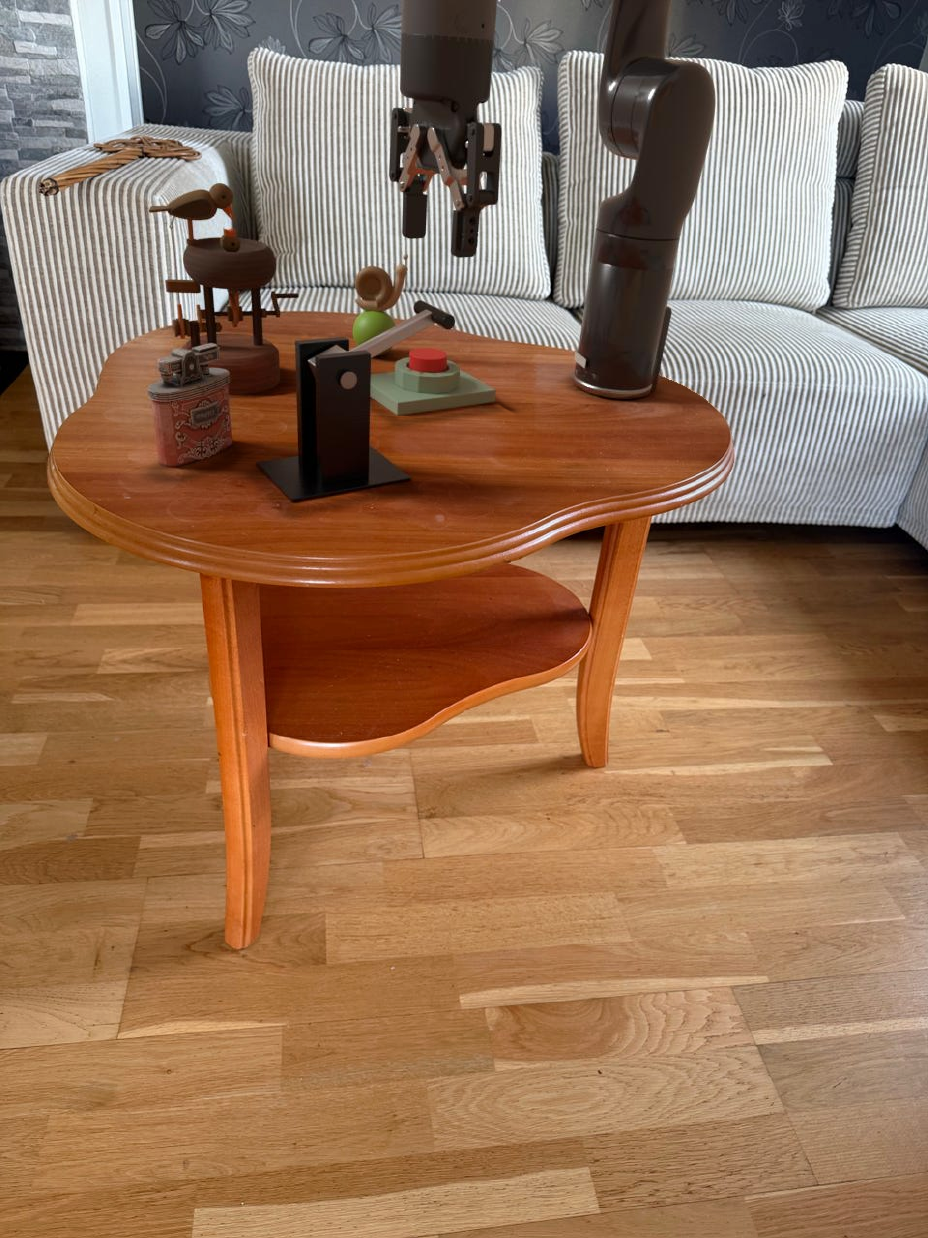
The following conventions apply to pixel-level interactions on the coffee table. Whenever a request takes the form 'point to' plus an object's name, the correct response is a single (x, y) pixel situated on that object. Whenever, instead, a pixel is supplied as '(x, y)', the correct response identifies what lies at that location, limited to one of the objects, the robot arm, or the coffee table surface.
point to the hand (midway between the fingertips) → (437, 246)
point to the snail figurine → (376, 301)
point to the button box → (428, 389)
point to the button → (427, 360)
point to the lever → (399, 331)
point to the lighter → (191, 407)
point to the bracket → (332, 427)
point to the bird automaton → (233, 270)
